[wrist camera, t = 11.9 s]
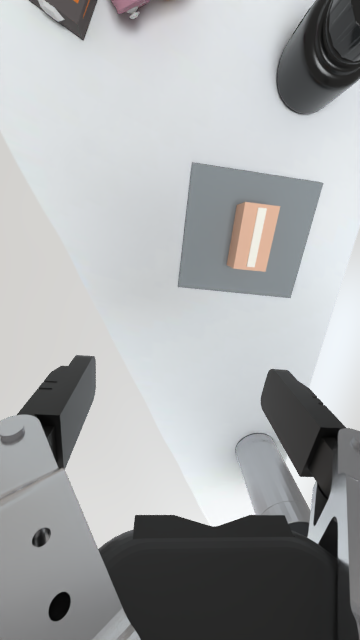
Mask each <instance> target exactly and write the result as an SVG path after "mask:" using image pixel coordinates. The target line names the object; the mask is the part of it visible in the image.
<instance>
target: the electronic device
mask: <svg viewBox="0 0 360 640" xmlns="http://www.w3.org/2000/svg"><path fill="white" fill-rule="evenodd" d="M30 1H31V2H32V3H34V4H35V5H36V6H38V7H39V8H40V9H42V10H43V11H44V12H46V13H47V14H48V15H49V16H51V17H52V18H54V19H55V20H56V21H58V22H59V23H61V24H62V25H63V26H65V27H66V28H67V29H69V30H70V31H72V32H73V33H74V34H76V35H77V36H78V37H80V38H81V39H82V40H83V39H84V36H85V33H86V30H87V28H88V25H89V22H90V19H91V16H92V13H93V11H94V8H95V5H96V2H97V0H30Z"/></svg>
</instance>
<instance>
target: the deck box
mask: <svg viewBox="0 0 360 640" xmlns="http://www.w3.org/2000/svg"><path fill="white" fill-rule="evenodd" d="M279 210H280V206H274V205H266V204H258V203H250V202H244V203H241V204H238V205H237V207H236V212H235V218H234V224H233V230H232V236H231V242H230V248H229V254H228V260H227V266H229V267H231V268H233V269H242V270H252V271H262V272H266V268H267V263H268V259H269V254H270V250H271V245H272V241H273V237H274V232H275V228H276V223H277V219H278V215H279Z"/></svg>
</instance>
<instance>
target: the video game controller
mask: <svg viewBox="0 0 360 640" xmlns="http://www.w3.org/2000/svg"><path fill="white" fill-rule="evenodd" d="M111 1H112V3H113V5H114V6H115V7H116V9H117V12H118V14H121V13H124V12H127V13H130V14H132V15H131V16H129V18H131V19H135V18H137V17H138V15H139V12H136V11H137V9H138V8H139V7H141V6H143V5H145V4H146V3H148V2H149V1H150V0H111Z"/></svg>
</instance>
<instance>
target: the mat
mask: <svg viewBox="0 0 360 640" xmlns="http://www.w3.org/2000/svg"><path fill="white" fill-rule="evenodd" d="M322 186H323V183H321V182H315V181H309V180H302V179H296V178H289V177H283V176H277V175H270V174H264V173H257V172H251V171H245V170H238V169H232V168H225V167H219V166H213V165H206V164H200V163H193V162H192V169H191V178H190V187H189V196H188V204H187V213H186V222H185V230H184V239H183V248H182V257H181V265H180V274H179V283H178V287H185V288H195V289H205V290H215V291H225V292H235V293H245V294H255V295H265V296H275V297H285V298H291V294H292V291H293V287H294V284H295V280H296V277H297V273H298V270H299V266H300V263H301V259H302V256H303V252H304V249H305V245H306V242H307V238H308V235H309V231H310V228H311V224H312V221H313V217H314V214H315V210H316V207H317V203H318V200H319V196H320V193H321V189H322ZM244 202H250V203H258V204H266V205H274V206H280V210H279V215H278V219H277V223H276V228H275V232H274V237H273V241H272V245H271V250H270V254H269V259H268V263H267V268H266V272H262V271H252V270H242V269H233V268H231V267H229V266H227V260H228V254H229V248H230V242H231V236H232V230H233V224H234V218H235V212H236V207H237V205H238V204H241V203H244Z"/></svg>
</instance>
